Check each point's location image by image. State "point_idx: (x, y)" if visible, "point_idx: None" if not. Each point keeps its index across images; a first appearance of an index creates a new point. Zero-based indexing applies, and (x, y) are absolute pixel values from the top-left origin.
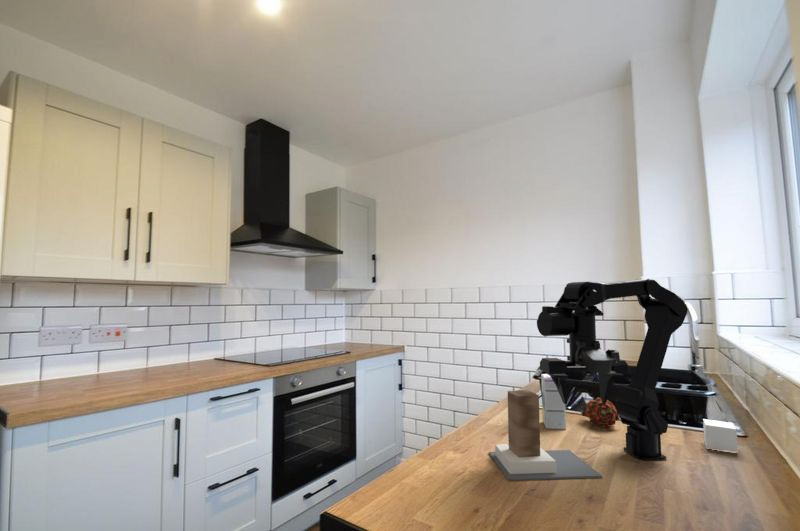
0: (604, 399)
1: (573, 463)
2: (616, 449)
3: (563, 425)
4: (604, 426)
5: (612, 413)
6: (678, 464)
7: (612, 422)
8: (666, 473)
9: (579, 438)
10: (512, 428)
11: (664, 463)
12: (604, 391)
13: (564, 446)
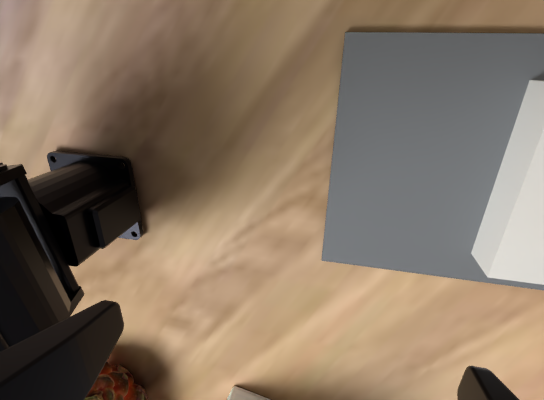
0: (91, 321)
1: (384, 156)
2: (162, 243)
3: (236, 398)
4: (121, 369)
5: None
6: (35, 116)
7: None
8: (98, 52)
9: (229, 330)
10: None
11: (71, 128)
12: (20, 394)
13: (311, 294)
